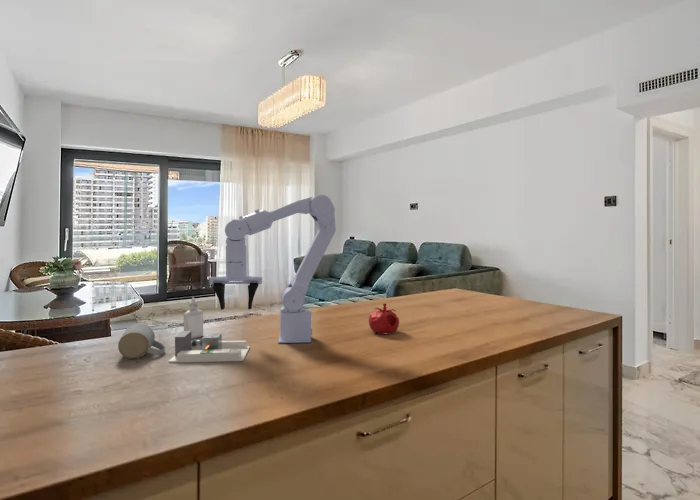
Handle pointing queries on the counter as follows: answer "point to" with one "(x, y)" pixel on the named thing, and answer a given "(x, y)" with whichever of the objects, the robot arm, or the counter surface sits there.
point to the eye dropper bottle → (194, 320)
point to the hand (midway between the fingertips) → (236, 308)
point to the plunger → (209, 341)
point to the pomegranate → (383, 321)
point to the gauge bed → (196, 354)
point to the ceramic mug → (139, 342)
